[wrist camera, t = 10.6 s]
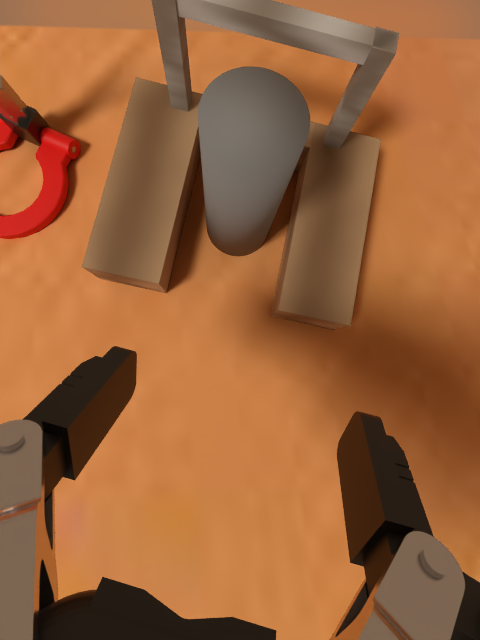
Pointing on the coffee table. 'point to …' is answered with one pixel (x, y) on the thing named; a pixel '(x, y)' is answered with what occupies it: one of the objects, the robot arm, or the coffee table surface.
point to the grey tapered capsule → (248, 153)
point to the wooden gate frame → (184, 152)
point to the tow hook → (53, 155)
